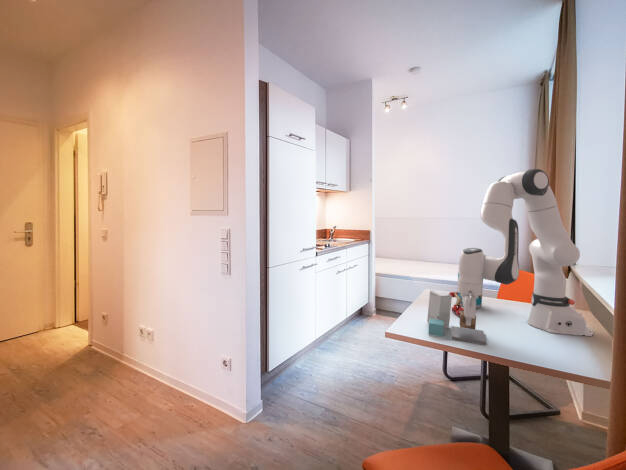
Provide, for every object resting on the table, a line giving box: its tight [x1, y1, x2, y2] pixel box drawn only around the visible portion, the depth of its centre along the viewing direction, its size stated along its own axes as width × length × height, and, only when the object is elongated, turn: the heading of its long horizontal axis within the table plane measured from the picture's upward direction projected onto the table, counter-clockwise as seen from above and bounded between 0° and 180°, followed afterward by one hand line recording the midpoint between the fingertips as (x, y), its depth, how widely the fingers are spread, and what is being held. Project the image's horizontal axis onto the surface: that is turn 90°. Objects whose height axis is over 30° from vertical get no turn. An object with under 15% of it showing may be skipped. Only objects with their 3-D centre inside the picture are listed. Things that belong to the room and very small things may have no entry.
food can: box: [456, 270, 484, 309], centre depth 164 cm, size 12×12×18 cm
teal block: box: [427, 319, 444, 338], centre depth 127 cm, size 6×6×5 cm
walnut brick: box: [459, 311, 477, 330], centre depth 124 cm, size 6×6×5 cm
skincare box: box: [426, 289, 453, 329], centre depth 136 cm, size 8×6×15 cm
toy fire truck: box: [448, 291, 464, 319], centre depth 151 cm, size 3×14×10 cm, turn 179°
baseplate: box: [450, 325, 487, 346], centre depth 124 cm, size 12×12×1 cm
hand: (467, 322), depth 124 cm, fingers closed on walnut brick, 5 cm apart
